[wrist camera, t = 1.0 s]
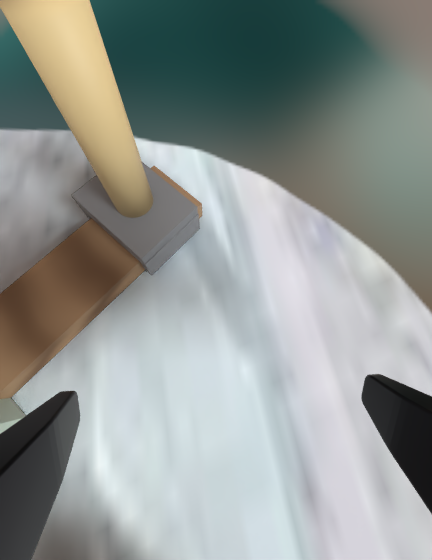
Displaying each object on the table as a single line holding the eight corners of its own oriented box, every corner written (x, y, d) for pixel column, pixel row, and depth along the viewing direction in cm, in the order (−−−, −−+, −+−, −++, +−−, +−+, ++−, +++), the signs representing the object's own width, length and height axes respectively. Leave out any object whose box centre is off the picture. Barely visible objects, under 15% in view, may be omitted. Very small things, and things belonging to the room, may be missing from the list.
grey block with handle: (151, 275, 24) (45, 99, 8) (88, 217, 25) (-100, -21, 10) (199, 229, 25) (184, 6, 10) (137, 177, 27) (39, -85, 11)
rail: (10, 397, 21) (-9, 400, 19) (-35, 343, 22) (-57, 341, 21) (202, 215, 27) (201, 203, 25) (157, 179, 28) (154, 165, 26)
